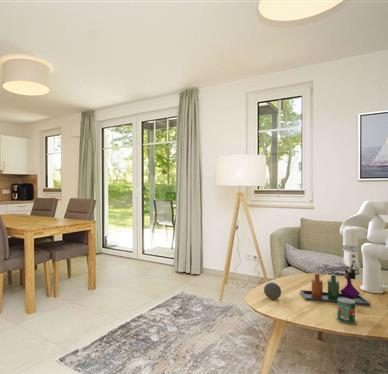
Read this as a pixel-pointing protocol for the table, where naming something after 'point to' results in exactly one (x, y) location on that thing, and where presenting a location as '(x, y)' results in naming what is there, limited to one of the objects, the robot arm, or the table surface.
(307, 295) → the tray
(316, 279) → the amber bottle
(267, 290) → the decorative ball
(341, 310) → the canned tomato
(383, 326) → the table surface
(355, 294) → the perfume bottle
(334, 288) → the green bottle
